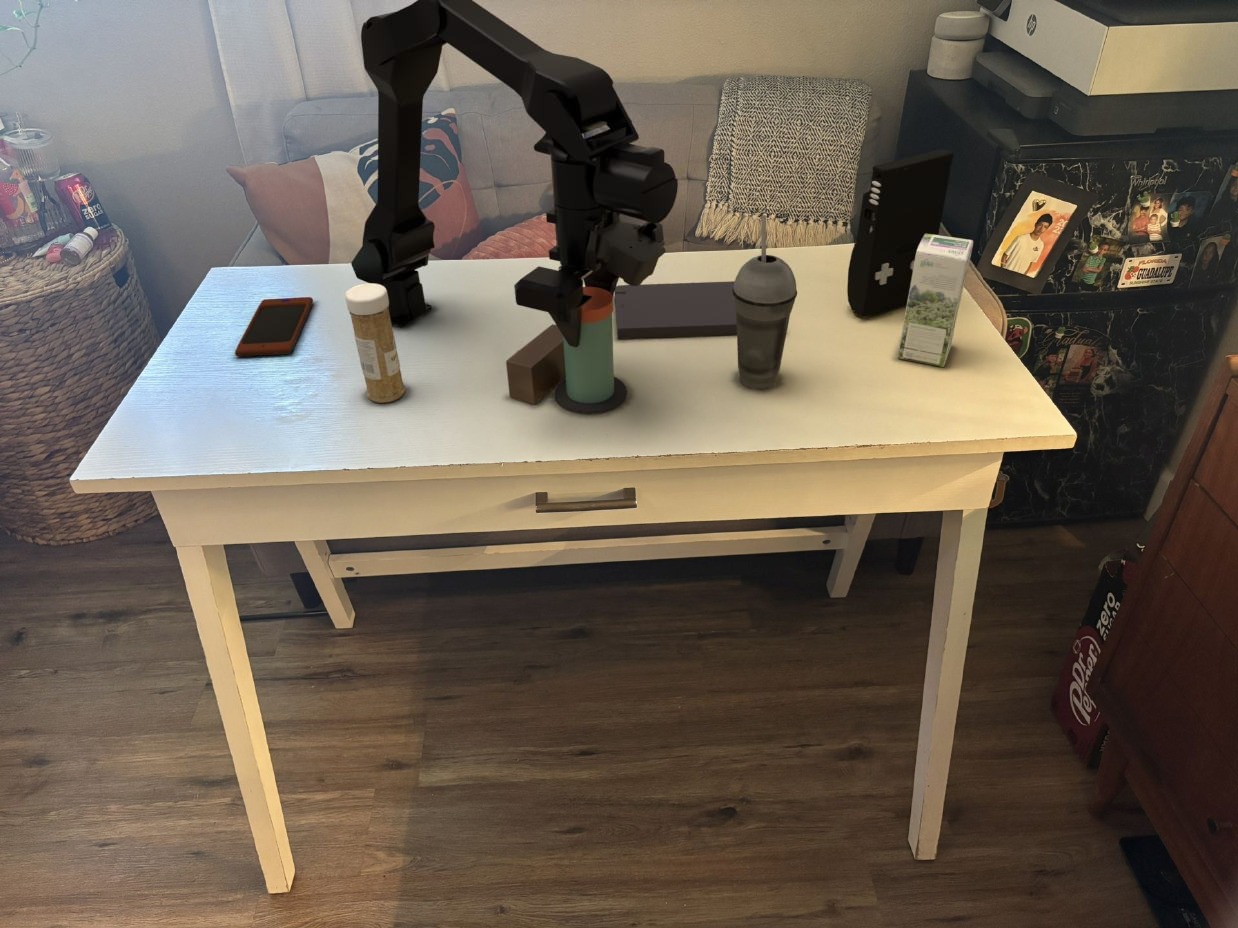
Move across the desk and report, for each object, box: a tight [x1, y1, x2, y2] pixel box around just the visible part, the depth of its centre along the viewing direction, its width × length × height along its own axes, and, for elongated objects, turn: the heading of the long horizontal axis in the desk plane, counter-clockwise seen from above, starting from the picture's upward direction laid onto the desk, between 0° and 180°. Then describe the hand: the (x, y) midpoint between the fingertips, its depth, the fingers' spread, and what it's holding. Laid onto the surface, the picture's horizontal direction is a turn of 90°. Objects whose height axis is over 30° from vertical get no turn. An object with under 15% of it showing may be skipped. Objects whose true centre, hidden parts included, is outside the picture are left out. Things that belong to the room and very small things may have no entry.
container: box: [563, 286, 615, 404], centre depth 106 cm, size 12×6×12 cm
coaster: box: [553, 376, 628, 415], centre depth 110 cm, size 9×9×1 cm
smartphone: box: [234, 296, 314, 357], centre depth 124 cm, size 7×1×15 cm
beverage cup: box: [732, 214, 798, 390], centre depth 106 cm, size 7×7×20 cm
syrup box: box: [897, 234, 974, 368], centre depth 111 cm, size 6×6×14 cm
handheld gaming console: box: [846, 148, 955, 318], centre depth 121 cm, size 12×5×20 cm, turn 120°
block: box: [505, 323, 566, 405], centre depth 111 cm, size 4×10×5 cm, turn 151°
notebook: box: [614, 280, 737, 340], centre depth 125 cm, size 13×2×21 cm
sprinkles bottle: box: [344, 283, 406, 404], centre depth 107 cm, size 5×5×14 cm
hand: (587, 334), depth 105 cm, fingers closed on container, 6 cm apart
